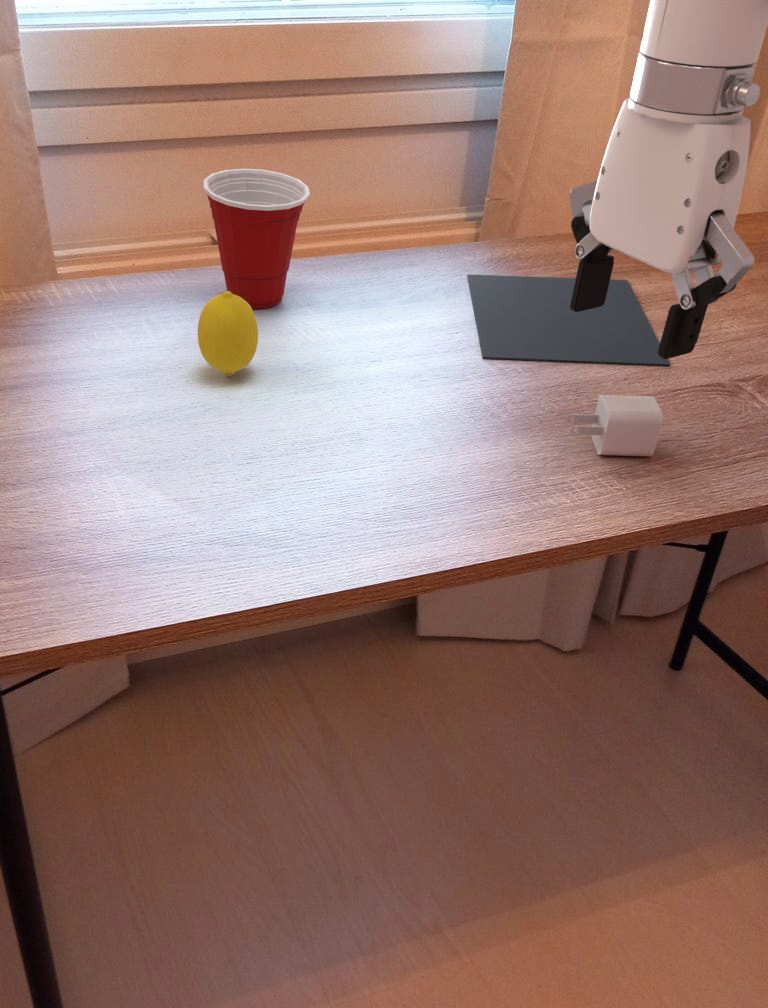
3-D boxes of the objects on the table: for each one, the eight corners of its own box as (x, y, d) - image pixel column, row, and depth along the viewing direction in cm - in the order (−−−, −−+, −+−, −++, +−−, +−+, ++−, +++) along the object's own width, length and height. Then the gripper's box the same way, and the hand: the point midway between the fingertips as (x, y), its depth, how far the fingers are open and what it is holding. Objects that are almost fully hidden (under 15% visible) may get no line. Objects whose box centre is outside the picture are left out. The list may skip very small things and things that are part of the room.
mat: (670, 366, 98) (670, 364, 98) (482, 358, 99) (483, 356, 99) (626, 281, 115) (627, 280, 115) (467, 276, 116) (467, 274, 116)
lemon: (270, 376, 96) (270, 292, 91) (226, 394, 93) (223, 308, 88) (231, 357, 99) (229, 275, 94) (187, 374, 96) (182, 290, 91)
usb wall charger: (651, 459, 85) (663, 416, 82) (568, 457, 85) (577, 413, 82) (641, 436, 88) (652, 393, 85) (560, 433, 88) (569, 390, 85)
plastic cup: (274, 328, 104) (275, 206, 97) (187, 306, 108) (181, 187, 101) (325, 293, 112) (329, 177, 104) (241, 274, 116) (239, 161, 108)
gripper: (834, 110, 64) (749, 364, 75) (639, 57, 76) (589, 285, 87) (752, 123, 62) (676, 385, 73) (561, 66, 73) (520, 300, 84)
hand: (628, 330), depth 80 cm, fingers open, 9 cm apart
